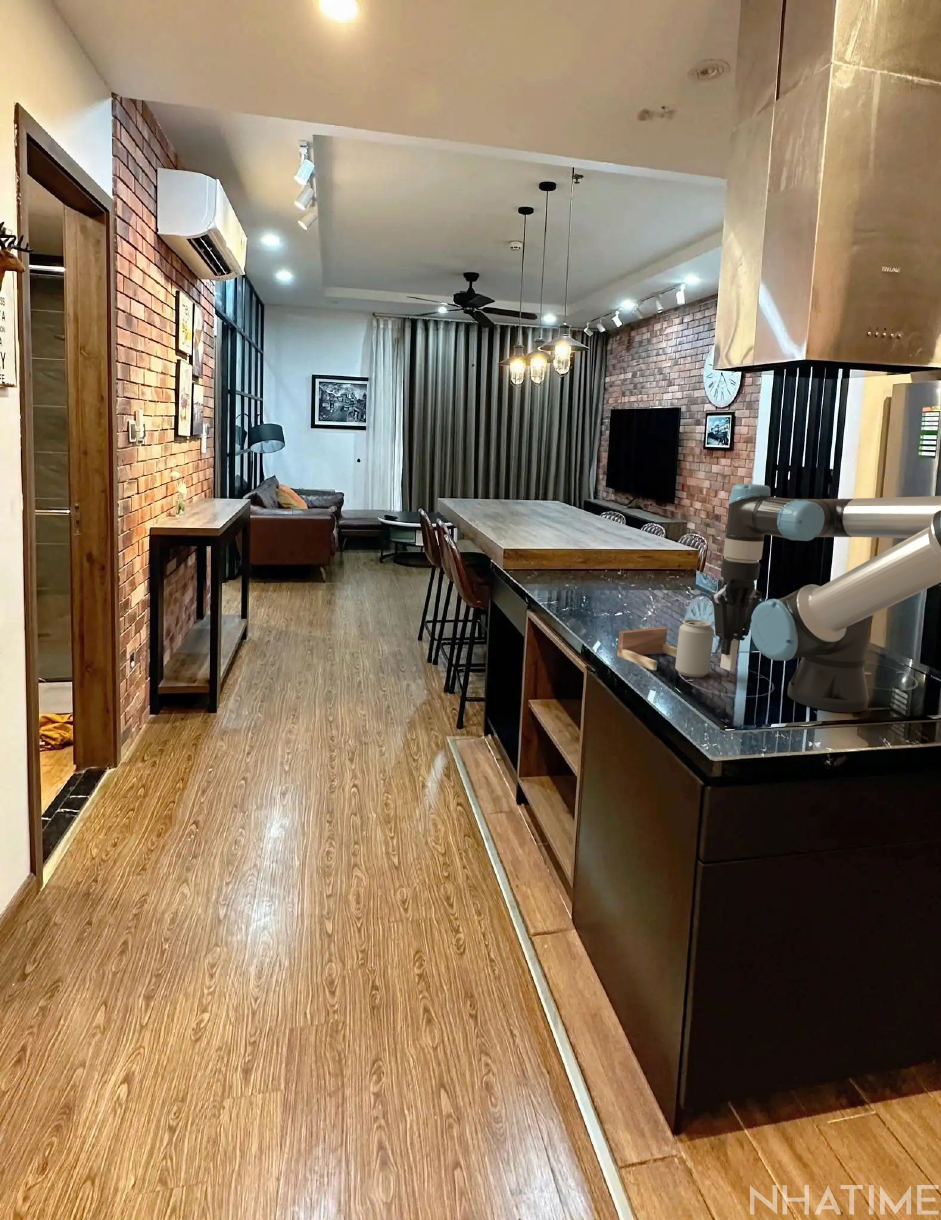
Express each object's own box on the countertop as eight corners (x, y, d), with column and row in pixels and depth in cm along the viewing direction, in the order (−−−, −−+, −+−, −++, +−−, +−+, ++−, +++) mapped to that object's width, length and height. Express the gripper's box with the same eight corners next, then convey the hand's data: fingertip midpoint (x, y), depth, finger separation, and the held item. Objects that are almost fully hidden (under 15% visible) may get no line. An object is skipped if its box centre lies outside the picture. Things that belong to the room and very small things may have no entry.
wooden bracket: (697, 663, 181) (700, 639, 180) (653, 670, 174) (655, 644, 173) (660, 650, 192) (663, 626, 190) (617, 655, 185) (619, 631, 184)
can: (685, 666, 179) (691, 616, 176) (715, 674, 173) (721, 622, 171) (668, 672, 173) (673, 620, 171) (698, 680, 168) (704, 627, 166)
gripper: (748, 555, 165) (735, 660, 171) (705, 557, 159) (692, 666, 164) (777, 561, 159) (762, 670, 164) (733, 563, 153) (719, 677, 158)
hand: (727, 668), depth 164 cm, fingers closed
